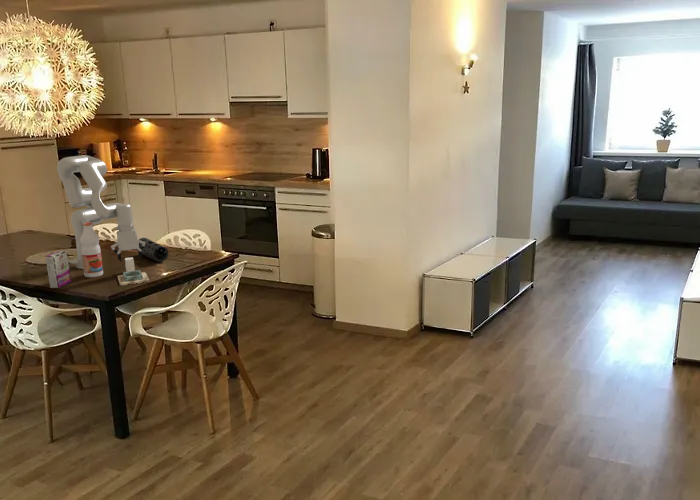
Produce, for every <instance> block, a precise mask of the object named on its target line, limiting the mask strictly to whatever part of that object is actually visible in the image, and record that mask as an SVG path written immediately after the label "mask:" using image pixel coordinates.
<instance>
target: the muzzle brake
mask: <svg viewBox="0 0 700 500" xmlns="http://www.w3.org/2000/svg"><path fill="white" fill-rule="evenodd" d="M138 240H141V241H144V242H145V243H146V244H145V246H144V248H143V249H142V251H141V255H144V256H145V257H147V258H150V259H151V260H154V261H156V262H158V263H159V264H162V263H163V262H164V261H167V259H168V257H169V254H170V253H169V249H168V248H167V247H166V246H164V245H162V244H160V243H158V242H155V241H153V240H151V239H149V238H147V237H141V238H138ZM141 246H142V243H139V247H141ZM135 250H136V251H137V252H138V249H135Z"/></svg>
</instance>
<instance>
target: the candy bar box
mask: <svg viewBox="0 0 700 500" xmlns="http://www.w3.org/2000/svg"><path fill="white" fill-rule="evenodd" d="M68 257H69V256H68V251H67V250H57V251H55V252H52V253H50V254H48V255H46V256H45V263H46V270H47V275H48V281H49V288H50V289H60V288H62V287H63V286H66V285H68V284H70V283H71V282H72V277H71V269H70V262H69V258H68Z"/></svg>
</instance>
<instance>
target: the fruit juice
mask: <svg viewBox="0 0 700 500" xmlns="http://www.w3.org/2000/svg"><path fill="white" fill-rule="evenodd" d="M83 227H84V229H83V234H82V236H81V238H80V242H81V245H82V248H81V254H82V262H83V269H82V270H83V274H84V277H85V278H96V277H97V278H98V277H101V276H103V274H104V268H103V266H104V265H103V257H102V252H101V251H102V250H101V246H100V244H99V242H100V237H99V235H97V233H96V231H95V230H94V227H93V223H92V222H85V223H83Z"/></svg>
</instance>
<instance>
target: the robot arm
mask: <svg viewBox="0 0 700 500" xmlns="http://www.w3.org/2000/svg"><path fill="white" fill-rule="evenodd" d="M56 170H57V171H56V172H57V174H58V177H59V178H60V180H61V182H62V185H63V187H64V191H65V193H66V194H65V195H66V198H67V201H68V203H69V205H70V206H71V208H81V209H77V210H74V212H72V213H71V215H70V221H71V225H72V227H73V233H74V237H75V244H76V245H75V246H76V254H77V258H75V259H74V260H73V259H72V260H68V262H69V265H75V268H77V269H80V270H81V269H82V270H84V269H83V262H82V254H81V248H82V245H81V242H80V238H81V236H82V234H83V229H84V227H83V223H85V222H92V223H93V225H98V224H100V223H102V222H103V221H104V220H105V221H106V220H110V219H115V218H117V220H116V221H117V226H115V227H114V228H115V230H118V231H117V234H116V235H117V236H116V237H117V241H116V242H114V244H112V245H111V246H110V248H111V250H112V251H113V252H114V253H115V254H117V259H118V261H119V262H122V255H121V253H122V252H123V251H130V250H136V249H138V251H137V254H138V258H139V260H141V258H142V257H143V256H142V255H143V254H141V251H142V249H143V248H144V246H145V244H146V243H145V242H144V241H141V240H139V238H138V233H137V230H136V229H135V227H134V218H133V213H132V212H133V210H132V206H131V204H129V203H121V202H114V203H113V202H112V203H107V204H104V203H103V201H102V199H101V193H102V192H104V191H105V190H106V189H107V187H108V183H107V182H106V180H105V179H104V176H105V175H106V174H107V173H108V167H107V164H106V163H105V162H104V160H101V159H99V158H96V157H93V156H91V155H84V154H83V155H74V156H66V157H62V159H60V160H58V163H57V166H56ZM74 173H80V175H81V176H82V178H83V180H84V181H85V183H86V184H87V186H88V187H84V188H83V186H82V183H81V181H80V179H79V178H78V176H76V175H75V174H74ZM82 207H86V208H82ZM139 243H142V246H141V247H139ZM116 247H118V249H116Z"/></svg>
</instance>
